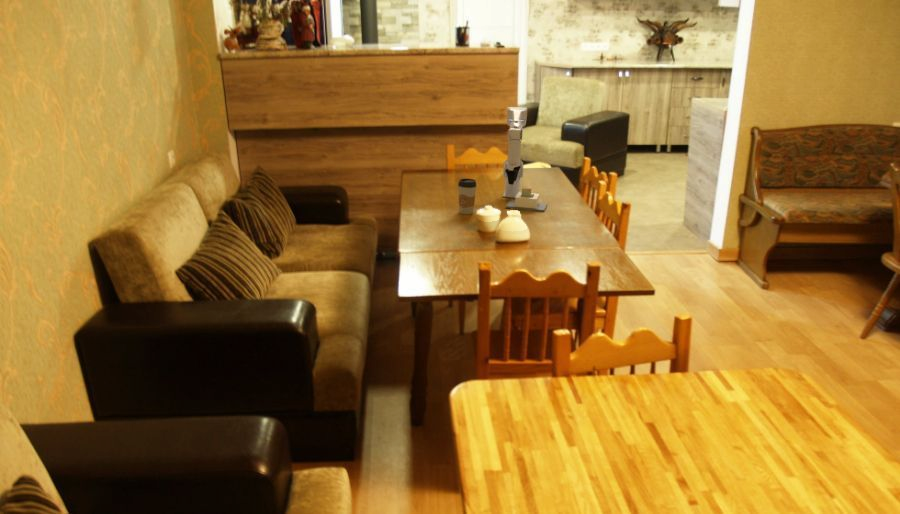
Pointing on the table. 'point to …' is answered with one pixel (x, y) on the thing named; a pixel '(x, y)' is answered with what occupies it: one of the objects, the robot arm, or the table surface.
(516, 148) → the robot arm
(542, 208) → the well
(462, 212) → the coffee cup
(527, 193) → the peg
